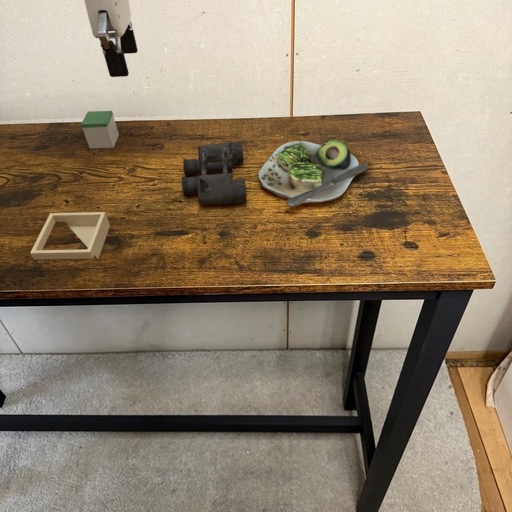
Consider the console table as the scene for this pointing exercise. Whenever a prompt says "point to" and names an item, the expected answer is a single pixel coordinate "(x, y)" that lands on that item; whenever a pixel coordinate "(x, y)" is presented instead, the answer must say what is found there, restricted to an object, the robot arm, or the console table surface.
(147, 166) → the console table surface
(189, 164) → the binoculars
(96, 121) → the container
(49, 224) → the tray
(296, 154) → the salad plate
